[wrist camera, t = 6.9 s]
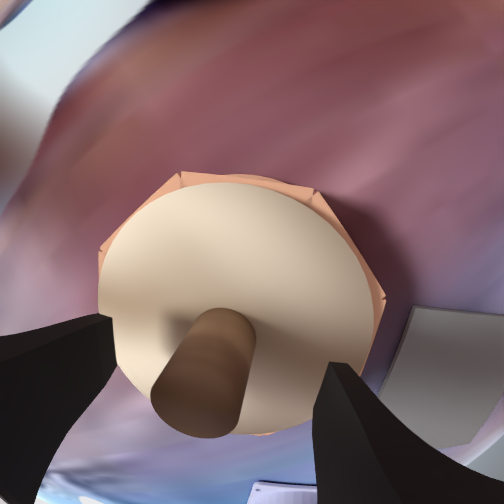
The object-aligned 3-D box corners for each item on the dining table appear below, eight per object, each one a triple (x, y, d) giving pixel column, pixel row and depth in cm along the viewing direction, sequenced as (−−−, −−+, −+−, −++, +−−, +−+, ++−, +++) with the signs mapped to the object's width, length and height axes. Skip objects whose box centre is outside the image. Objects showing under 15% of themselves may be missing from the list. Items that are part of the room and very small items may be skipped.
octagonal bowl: (327, 402, 15) (332, 445, 12) (136, 365, 16) (110, 397, 13) (383, 198, 13) (413, 203, 9) (139, 164, 14) (99, 161, 10)
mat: (468, 440, 15) (469, 442, 15) (347, 452, 16) (347, 455, 16) (535, 317, 12) (538, 319, 12) (412, 304, 13) (415, 307, 13)
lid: (339, 431, 12) (348, 506, 7) (125, 402, 13) (85, 460, 8) (389, 194, 9) (458, 205, 5) (97, 183, 10) (11, 191, 6)
